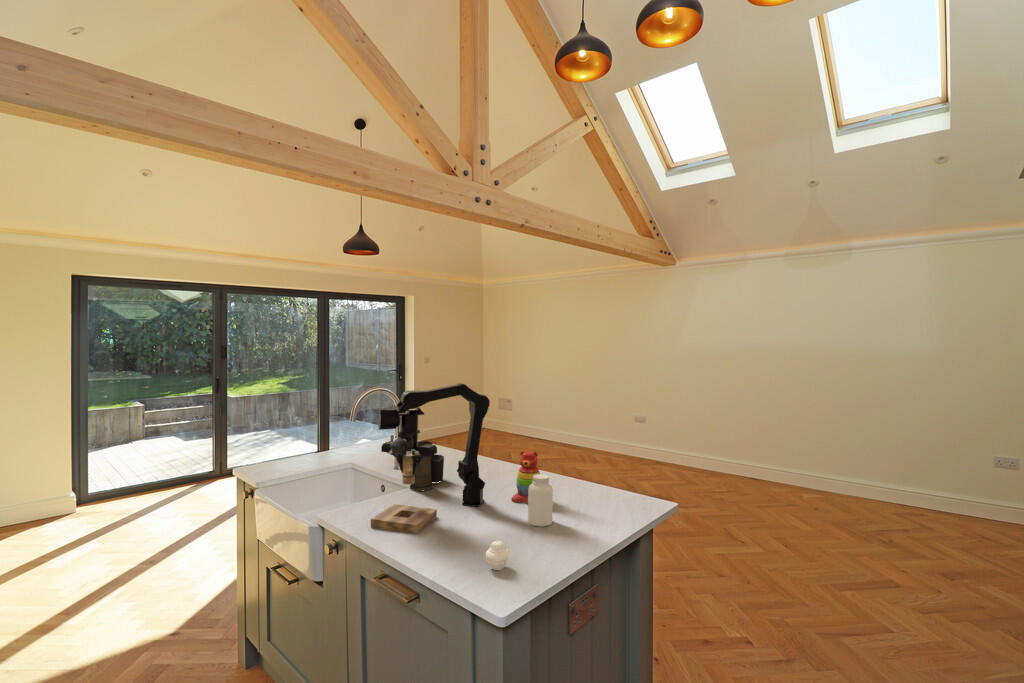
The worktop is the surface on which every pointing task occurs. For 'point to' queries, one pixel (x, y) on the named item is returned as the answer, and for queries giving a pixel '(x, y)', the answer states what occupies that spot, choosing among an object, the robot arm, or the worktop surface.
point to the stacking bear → (525, 475)
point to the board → (404, 518)
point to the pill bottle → (540, 501)
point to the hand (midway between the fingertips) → (408, 473)
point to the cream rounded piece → (497, 555)
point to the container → (423, 472)
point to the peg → (408, 470)
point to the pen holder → (437, 468)
